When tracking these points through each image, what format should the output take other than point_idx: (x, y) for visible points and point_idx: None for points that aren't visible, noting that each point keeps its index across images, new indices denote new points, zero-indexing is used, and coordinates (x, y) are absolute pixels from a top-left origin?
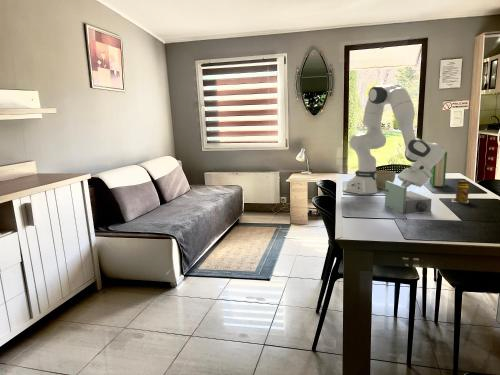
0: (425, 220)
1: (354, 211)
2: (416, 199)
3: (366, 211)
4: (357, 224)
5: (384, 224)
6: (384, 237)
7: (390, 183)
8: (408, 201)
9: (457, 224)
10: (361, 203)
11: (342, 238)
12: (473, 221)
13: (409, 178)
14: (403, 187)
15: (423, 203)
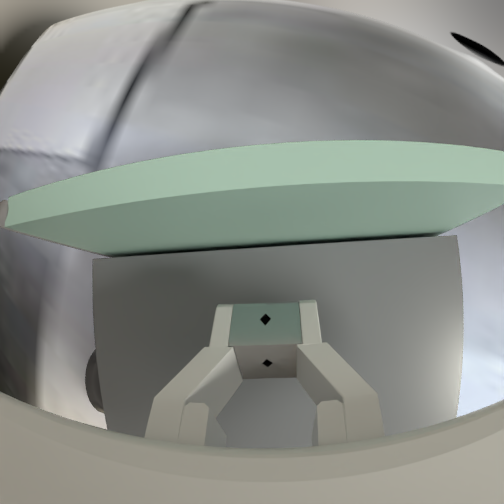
0: (38, 303)
1: (270, 34)
2: (114, 371)
3: (257, 73)
4: (102, 38)
5: (58, 112)
6: (4, 103)
7: (403, 148)
8: (96, 279)
9: (2, 384)
10: (438, 114)
11: (49, 27)
12: None
13: (143, 497)
14: (15, 195)
15: (91, 390)
